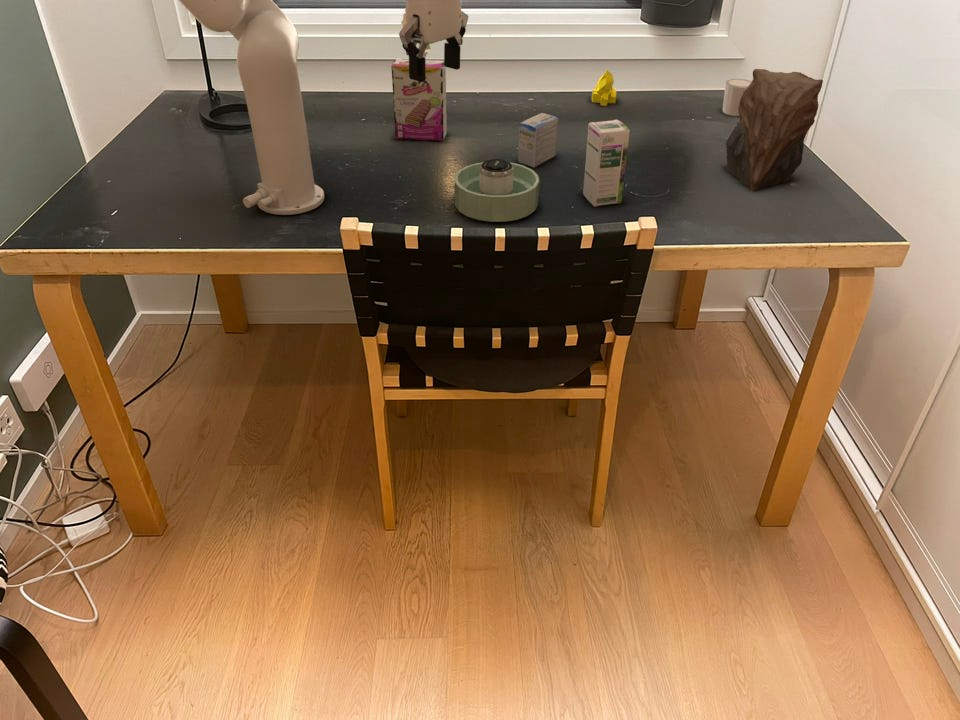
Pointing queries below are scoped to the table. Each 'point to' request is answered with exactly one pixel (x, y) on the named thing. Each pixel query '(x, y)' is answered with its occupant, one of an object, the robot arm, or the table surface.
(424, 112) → the candy bar box
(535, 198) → the bowl
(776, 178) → the owl
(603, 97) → the yellow crystal cluster
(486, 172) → the camera lens
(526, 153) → the medicine box
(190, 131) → the table surface
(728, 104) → the white cylinder
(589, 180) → the syrup box
